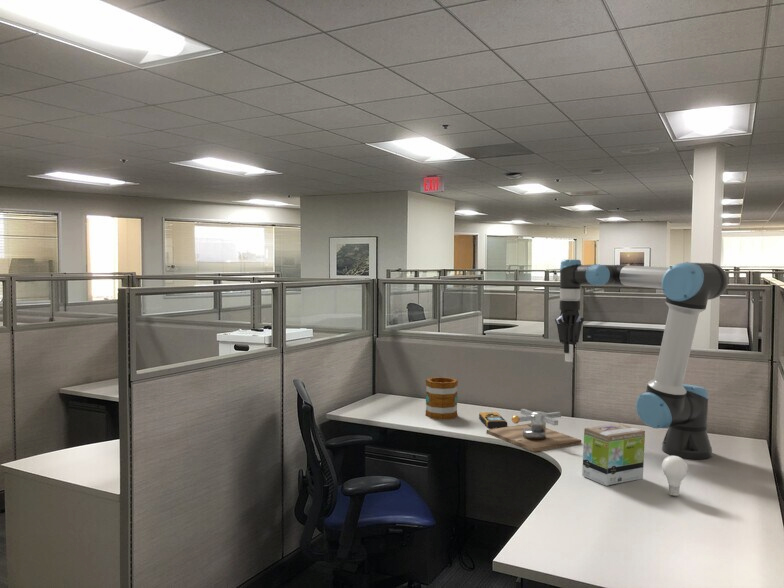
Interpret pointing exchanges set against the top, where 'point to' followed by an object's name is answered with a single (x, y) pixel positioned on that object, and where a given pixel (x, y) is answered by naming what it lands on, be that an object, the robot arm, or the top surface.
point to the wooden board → (516, 437)
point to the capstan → (536, 423)
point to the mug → (441, 398)
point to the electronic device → (492, 420)
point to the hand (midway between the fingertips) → (568, 361)
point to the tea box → (613, 454)
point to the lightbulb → (674, 473)
